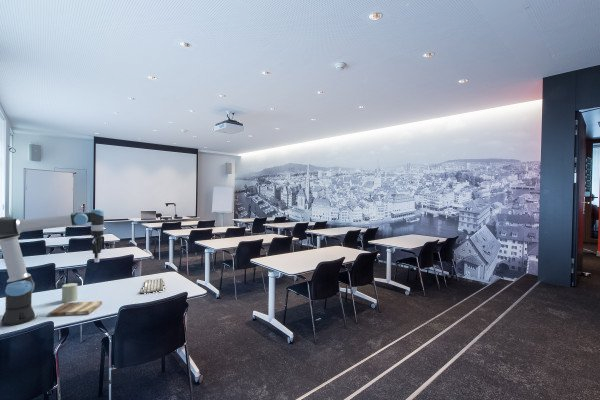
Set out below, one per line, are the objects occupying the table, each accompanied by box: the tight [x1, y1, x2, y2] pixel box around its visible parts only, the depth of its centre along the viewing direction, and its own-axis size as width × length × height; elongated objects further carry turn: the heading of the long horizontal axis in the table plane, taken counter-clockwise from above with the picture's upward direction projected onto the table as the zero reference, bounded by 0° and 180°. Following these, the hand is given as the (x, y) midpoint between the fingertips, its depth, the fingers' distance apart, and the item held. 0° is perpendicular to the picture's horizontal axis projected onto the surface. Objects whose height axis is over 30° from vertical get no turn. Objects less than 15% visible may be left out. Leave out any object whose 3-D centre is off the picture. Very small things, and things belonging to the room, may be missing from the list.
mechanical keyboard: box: [139, 277, 166, 295], centre depth 253 cm, size 38×19×3 cm, turn 26°
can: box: [61, 282, 78, 303], centre depth 217 cm, size 9×9×12 cm
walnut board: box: [48, 301, 81, 317], centre depth 198 cm, size 9×18×2 cm, turn 11°
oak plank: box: [64, 300, 103, 316], centre depth 200 cm, size 14×18×2 cm
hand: (96, 262), depth 216 cm, fingers closed
